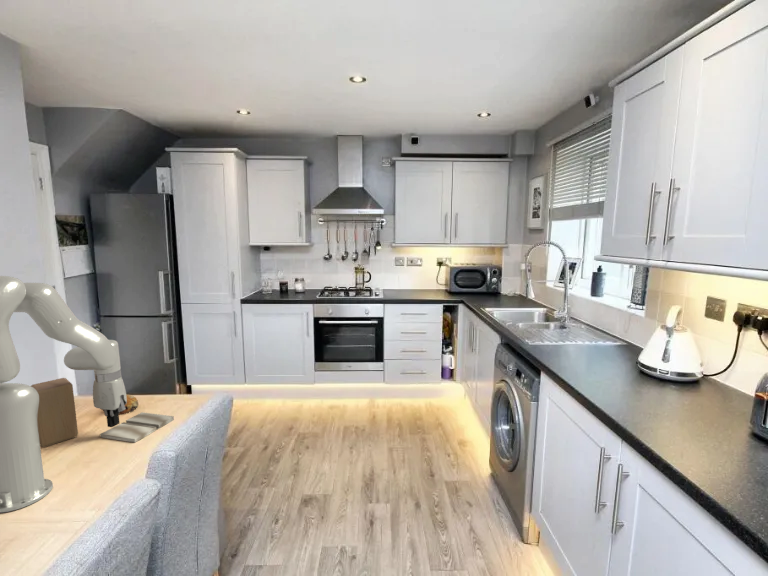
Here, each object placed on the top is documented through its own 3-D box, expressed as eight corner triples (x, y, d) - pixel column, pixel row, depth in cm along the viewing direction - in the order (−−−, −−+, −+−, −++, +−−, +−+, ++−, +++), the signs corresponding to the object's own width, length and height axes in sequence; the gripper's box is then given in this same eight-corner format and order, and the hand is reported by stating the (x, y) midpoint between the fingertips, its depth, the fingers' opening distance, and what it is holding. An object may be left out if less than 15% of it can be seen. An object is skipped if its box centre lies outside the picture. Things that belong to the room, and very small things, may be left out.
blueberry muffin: (135, 412, 162) (130, 393, 163) (144, 407, 156) (139, 388, 157) (108, 420, 154) (103, 401, 155) (116, 416, 148) (111, 396, 149)
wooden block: (71, 428, 141) (65, 376, 138) (79, 437, 134) (72, 382, 132) (35, 439, 133) (28, 384, 130) (41, 449, 127) (34, 391, 124)
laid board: (157, 429, 139) (157, 425, 139) (124, 425, 143) (124, 421, 143) (173, 419, 147) (173, 416, 146) (142, 415, 150) (141, 412, 150)
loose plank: (134, 442, 130) (134, 438, 130) (100, 437, 134) (100, 433, 134) (156, 430, 139) (156, 426, 139) (123, 425, 142) (123, 422, 142)
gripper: (80, 377, 131) (86, 428, 133) (115, 381, 127) (121, 433, 129) (101, 370, 138) (107, 418, 140) (135, 373, 134) (139, 422, 137)
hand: (113, 425), depth 135 cm, fingers closed
